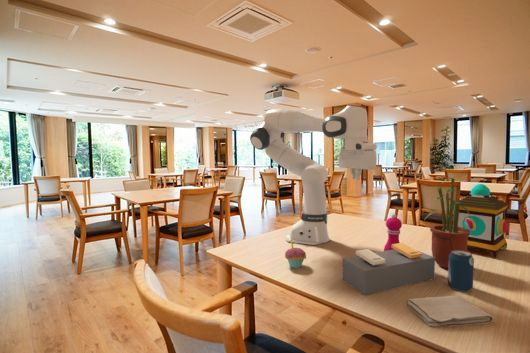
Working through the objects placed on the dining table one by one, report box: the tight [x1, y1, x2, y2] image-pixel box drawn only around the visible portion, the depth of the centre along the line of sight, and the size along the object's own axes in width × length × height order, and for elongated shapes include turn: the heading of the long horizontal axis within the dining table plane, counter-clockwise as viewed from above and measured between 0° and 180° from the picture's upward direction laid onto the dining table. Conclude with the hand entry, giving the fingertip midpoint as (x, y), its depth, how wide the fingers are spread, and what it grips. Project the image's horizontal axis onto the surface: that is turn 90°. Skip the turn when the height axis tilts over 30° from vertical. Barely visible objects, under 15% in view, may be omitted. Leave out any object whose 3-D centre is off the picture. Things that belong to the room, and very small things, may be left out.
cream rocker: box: [355, 248, 385, 265], centre depth 100 cm, size 9×5×1 cm, turn 20°
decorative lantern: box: [452, 183, 509, 259], centre depth 131 cm, size 20×20×30 cm
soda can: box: [447, 250, 475, 292], centre depth 97 cm, size 7×7×12 cm
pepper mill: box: [383, 213, 403, 251], centre depth 119 cm, size 7×7×20 cm
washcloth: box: [407, 295, 494, 328], centre depth 82 cm, size 12×18×3 cm, turn 96°
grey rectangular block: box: [342, 249, 436, 296], centre depth 104 cm, size 12×30×9 cm, turn 110°
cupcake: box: [284, 239, 307, 269], centre depth 118 cm, size 9×8×12 cm
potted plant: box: [423, 177, 470, 270], centre depth 115 cm, size 17×16×35 cm
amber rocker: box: [391, 242, 423, 259], centre depth 106 cm, size 9×5×1 cm, turn 20°
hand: (355, 179), depth 120 cm, fingers closed
